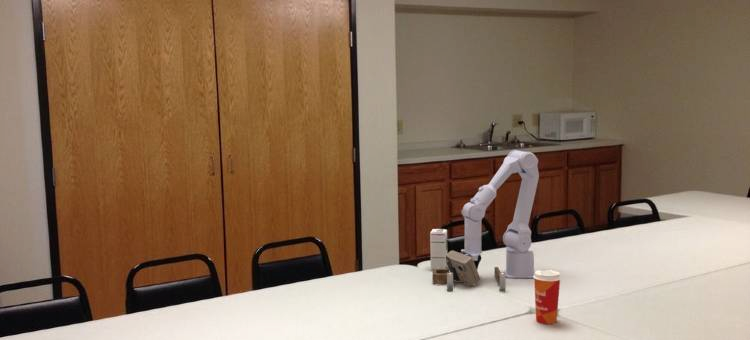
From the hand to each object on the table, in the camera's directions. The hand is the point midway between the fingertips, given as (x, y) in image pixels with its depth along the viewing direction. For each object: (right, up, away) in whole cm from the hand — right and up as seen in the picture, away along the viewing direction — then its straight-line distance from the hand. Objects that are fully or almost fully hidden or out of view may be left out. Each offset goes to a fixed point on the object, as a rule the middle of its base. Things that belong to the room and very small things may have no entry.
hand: (472, 276), depth 234 cm
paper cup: (+15, -6, -42) cm, 45 cm away
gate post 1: (-9, -3, -12) cm, 15 cm away
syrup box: (-10, 0, +15) cm, 18 cm away
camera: (-2, -1, -3) cm, 4 cm away
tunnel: (-2, -2, -1) cm, 3 cm away
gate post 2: (+8, -3, -13) cm, 15 cm away
